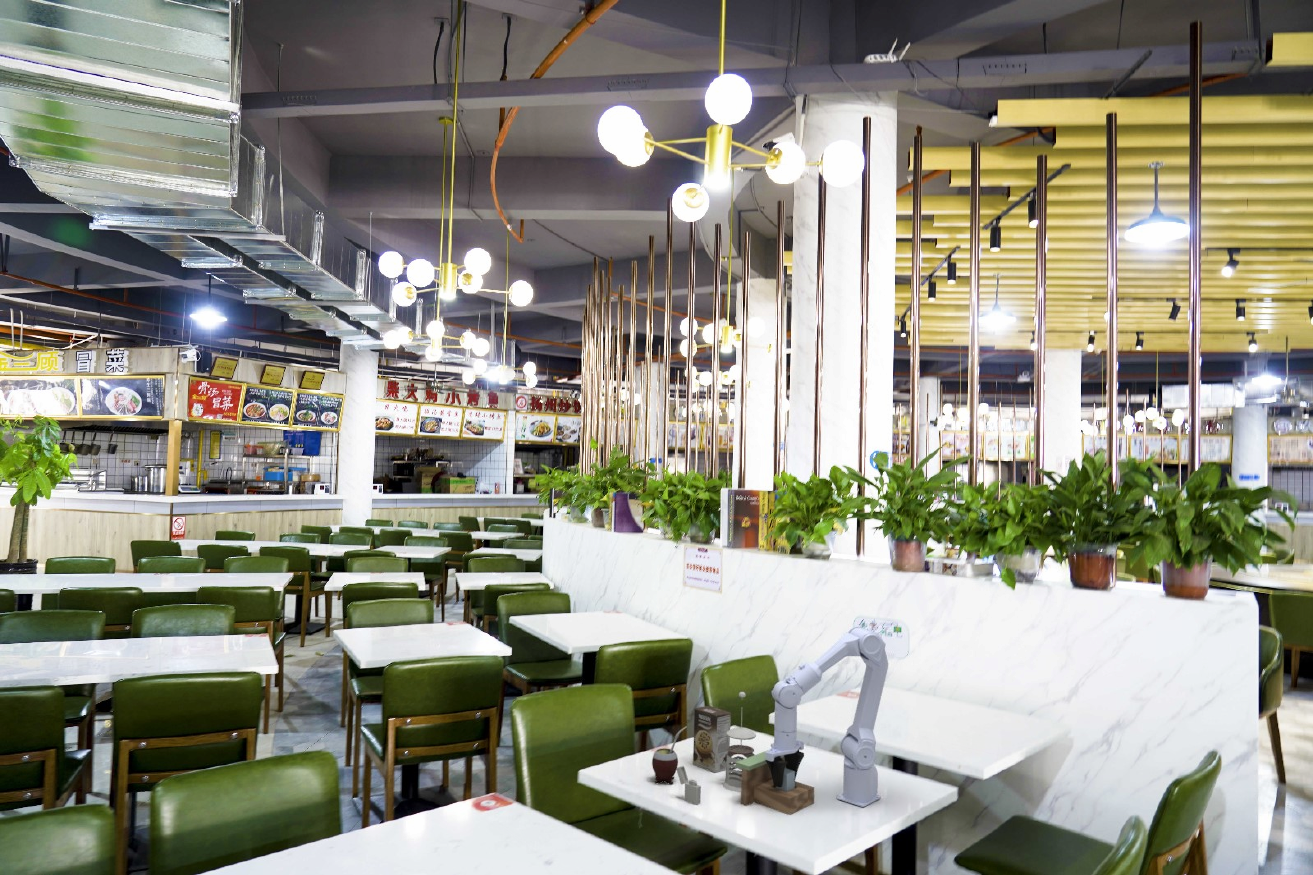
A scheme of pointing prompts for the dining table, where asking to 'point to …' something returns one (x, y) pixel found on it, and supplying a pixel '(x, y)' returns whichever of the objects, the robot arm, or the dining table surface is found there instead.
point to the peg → (788, 780)
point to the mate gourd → (665, 763)
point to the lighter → (689, 787)
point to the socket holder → (770, 787)
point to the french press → (740, 733)
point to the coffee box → (711, 738)
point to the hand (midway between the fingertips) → (784, 783)
